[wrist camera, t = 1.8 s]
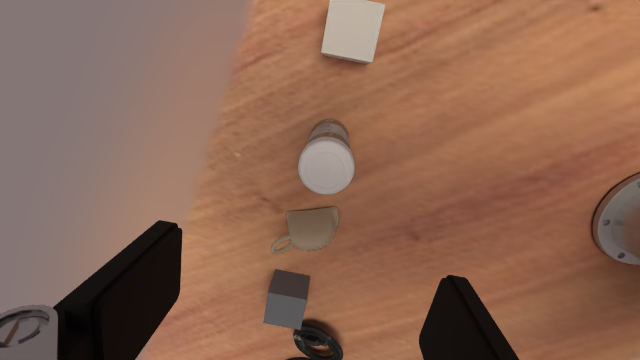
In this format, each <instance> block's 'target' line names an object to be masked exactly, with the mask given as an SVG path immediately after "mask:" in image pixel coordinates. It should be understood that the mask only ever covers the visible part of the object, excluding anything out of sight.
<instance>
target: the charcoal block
mask: <svg viewBox="0 0 640 360" xmlns="http://www.w3.org/2000/svg"><path fill="white" fill-rule="evenodd" d="M309 280H310V276H308V275H303V274H298V273H293V272H287V271H282V270H277V269H276V270H275V273H274V276H273V279H272V282H271V285H270V288H269V292H268V297H267V303H266V310H265V316H264V322H263V323H267V324H272V325H277V326H282V327H288V328H293V329H298V330H301V325H302V320H303V316H304V311H305V306H306V301H307V295H308V288H309Z"/></svg>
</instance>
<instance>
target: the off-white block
mask: <svg viewBox="0 0 640 360" xmlns="http://www.w3.org/2000/svg"><path fill="white" fill-rule="evenodd" d="M384 8H385V4H381V3H376V2H371V1H366V0H330V3H329V9H328V15H327V21H326V27H325V33H324V38H323V44H322V50H321V53H322V54H323V56H328V57H333V58H338V59H343V60H348V61H354V62H359V63H364V64H369V63H372V61H373V57H374V52H375V48H376V44H377V39H378V35H379V30H380V26H381V21H382V17H383V13H384Z"/></svg>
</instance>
